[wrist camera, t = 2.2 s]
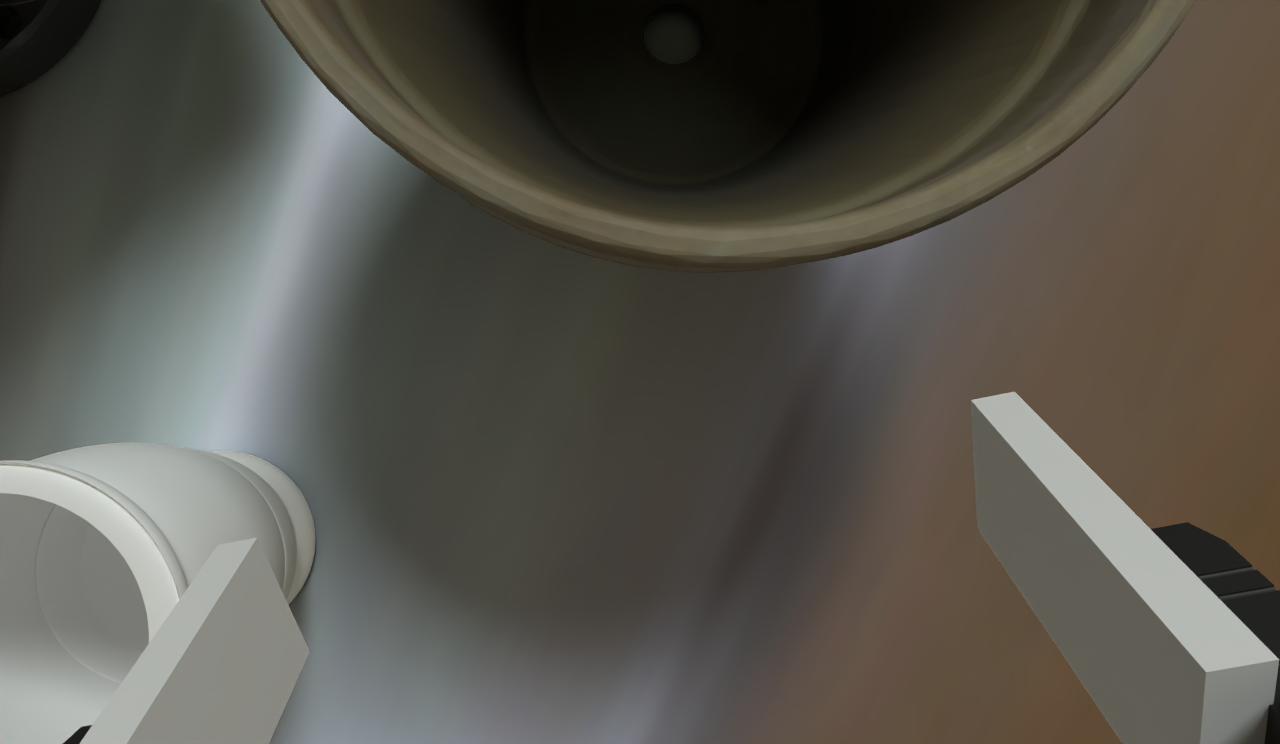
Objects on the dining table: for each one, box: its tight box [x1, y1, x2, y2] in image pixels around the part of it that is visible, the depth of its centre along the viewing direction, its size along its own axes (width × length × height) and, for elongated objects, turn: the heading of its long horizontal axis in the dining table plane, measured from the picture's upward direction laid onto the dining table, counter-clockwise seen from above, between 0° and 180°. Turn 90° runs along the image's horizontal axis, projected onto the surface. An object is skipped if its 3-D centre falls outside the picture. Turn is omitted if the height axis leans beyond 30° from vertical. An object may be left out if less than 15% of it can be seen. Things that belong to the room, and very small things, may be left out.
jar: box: [0, 443, 315, 744], centre depth 32 cm, size 11×10×15 cm
